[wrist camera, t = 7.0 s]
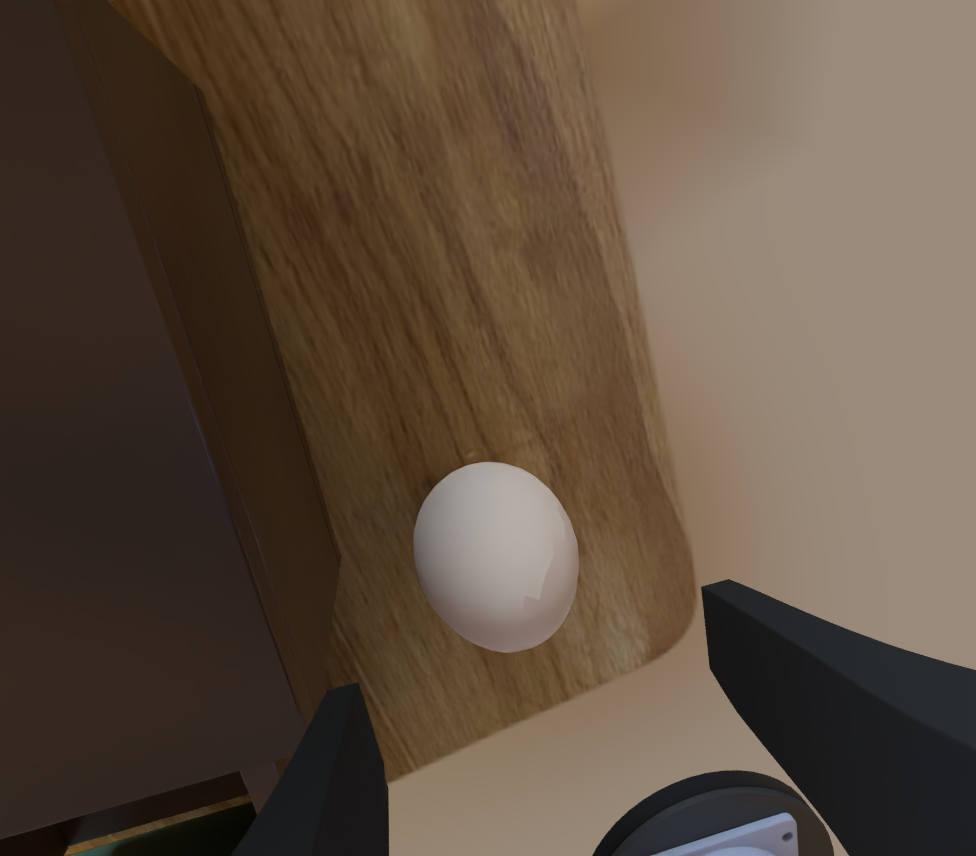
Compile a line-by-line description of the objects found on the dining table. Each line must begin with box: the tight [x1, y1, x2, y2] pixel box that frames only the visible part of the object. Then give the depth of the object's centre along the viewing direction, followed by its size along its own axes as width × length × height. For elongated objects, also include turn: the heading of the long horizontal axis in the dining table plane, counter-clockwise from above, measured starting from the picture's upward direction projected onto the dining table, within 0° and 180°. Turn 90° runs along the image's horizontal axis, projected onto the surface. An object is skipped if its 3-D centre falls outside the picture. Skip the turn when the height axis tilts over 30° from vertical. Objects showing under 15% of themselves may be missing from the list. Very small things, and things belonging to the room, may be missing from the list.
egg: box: [413, 462, 579, 653], centre depth 17 cm, size 5×5×7 cm
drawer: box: [0, 667, 389, 856], centre depth 17 cm, size 18×11×7 cm, turn 11°
